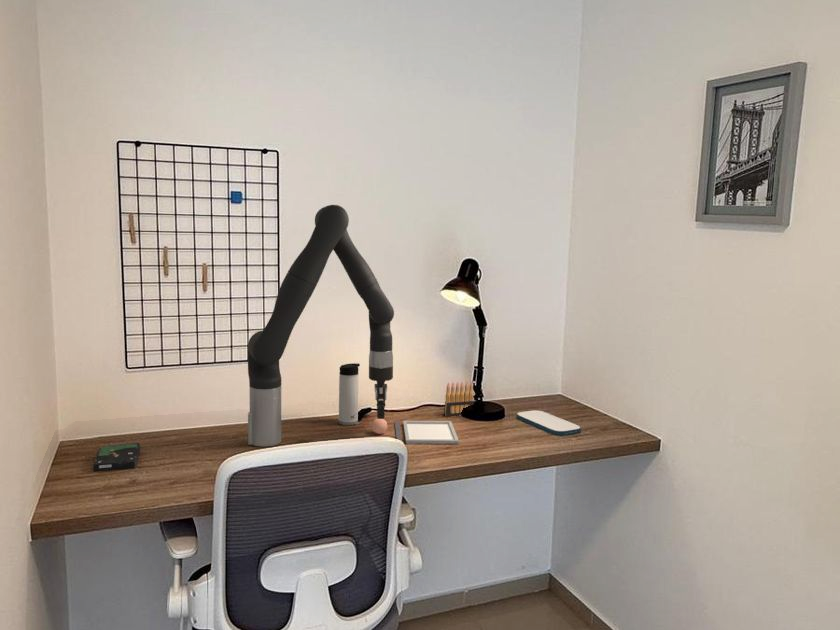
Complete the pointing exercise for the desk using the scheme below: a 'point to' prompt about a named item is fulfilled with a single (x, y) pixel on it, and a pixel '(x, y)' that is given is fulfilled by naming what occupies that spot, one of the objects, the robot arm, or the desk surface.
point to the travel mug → (348, 394)
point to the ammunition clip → (458, 399)
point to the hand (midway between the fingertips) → (380, 414)
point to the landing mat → (427, 432)
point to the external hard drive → (548, 422)
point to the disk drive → (117, 457)
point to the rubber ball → (379, 426)
